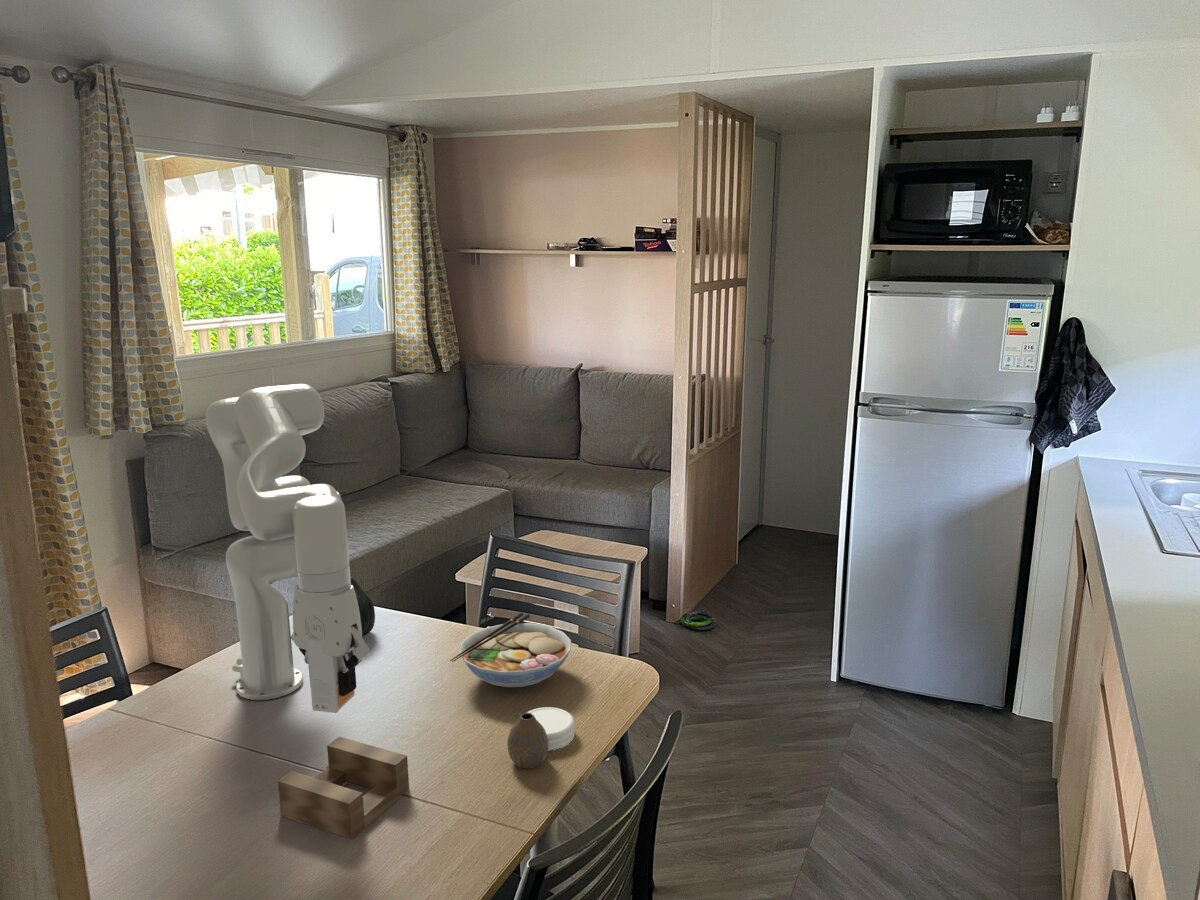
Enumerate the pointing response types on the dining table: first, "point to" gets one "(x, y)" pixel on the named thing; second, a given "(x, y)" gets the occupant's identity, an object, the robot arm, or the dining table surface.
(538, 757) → the vase
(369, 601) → the squash
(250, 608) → the robot arm
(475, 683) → the dining table surface
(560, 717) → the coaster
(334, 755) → the socket
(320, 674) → the skincare box
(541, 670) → the ramen bowl
